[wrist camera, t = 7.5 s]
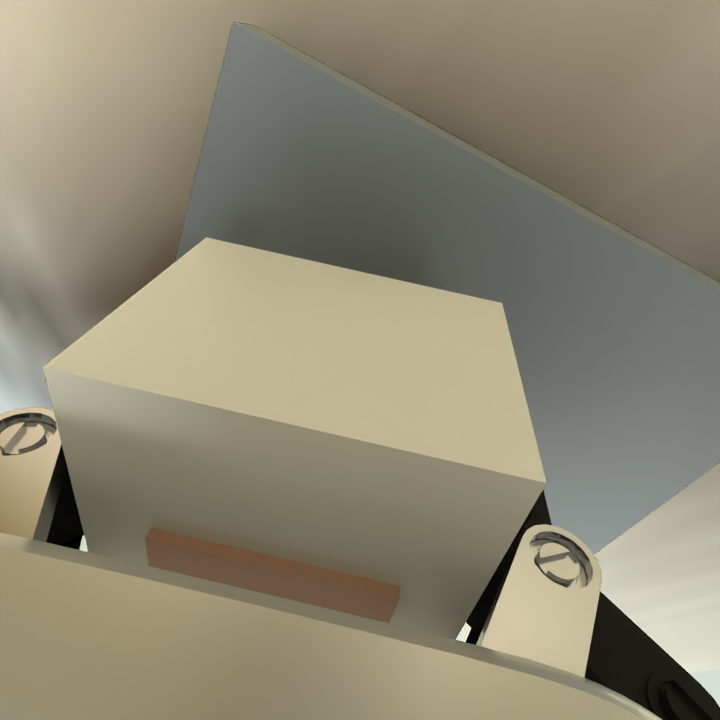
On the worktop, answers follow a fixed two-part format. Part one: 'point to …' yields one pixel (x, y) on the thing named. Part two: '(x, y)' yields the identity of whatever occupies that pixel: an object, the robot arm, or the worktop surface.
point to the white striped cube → (302, 435)
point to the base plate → (477, 270)
